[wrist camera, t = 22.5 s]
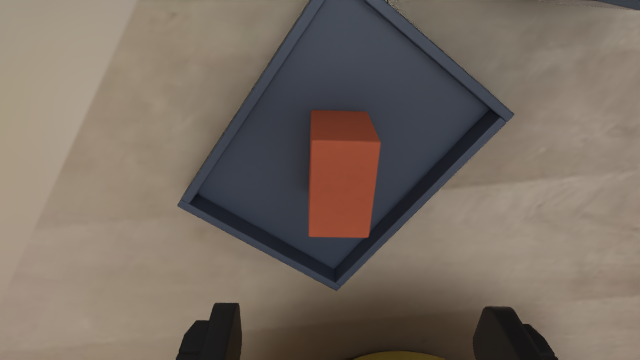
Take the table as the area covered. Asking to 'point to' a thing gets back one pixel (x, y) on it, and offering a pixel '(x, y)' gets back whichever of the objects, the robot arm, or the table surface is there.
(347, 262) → the tray
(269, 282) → the table surface
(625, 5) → the crock
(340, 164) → the sponge
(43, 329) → the table surface
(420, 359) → the planter bowl
